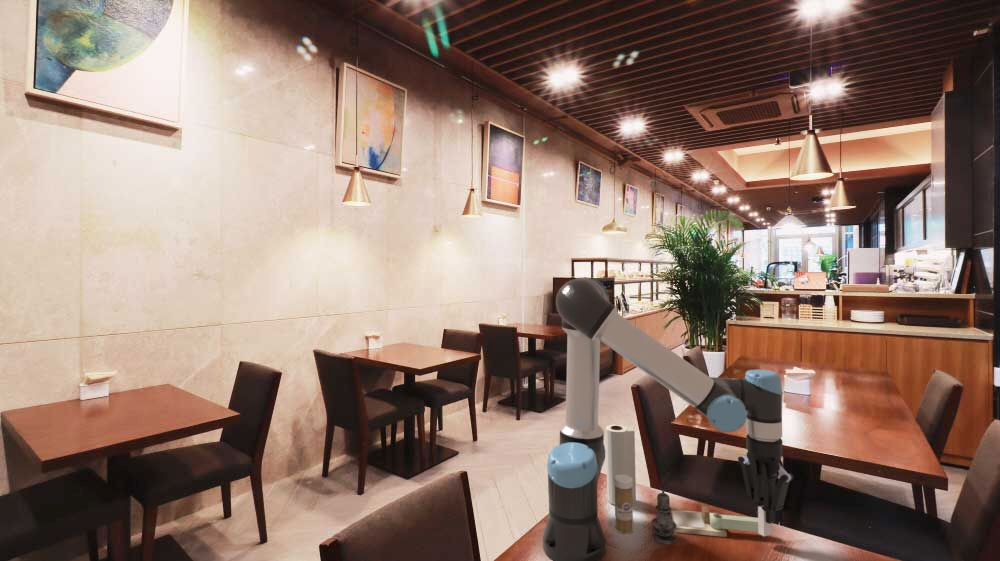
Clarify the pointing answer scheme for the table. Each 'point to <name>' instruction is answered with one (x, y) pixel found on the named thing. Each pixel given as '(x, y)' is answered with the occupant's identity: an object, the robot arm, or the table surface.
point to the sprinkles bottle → (623, 503)
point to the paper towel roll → (620, 458)
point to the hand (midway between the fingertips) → (765, 533)
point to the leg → (733, 522)
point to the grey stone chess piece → (663, 521)
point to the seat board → (695, 522)
